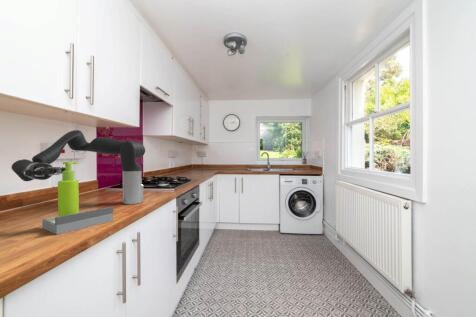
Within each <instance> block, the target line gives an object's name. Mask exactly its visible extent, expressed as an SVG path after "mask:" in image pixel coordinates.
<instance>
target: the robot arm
mask: <svg viewBox="0 0 476 317" xmlns="http://www.w3.org/2000/svg"><path fill="white" fill-rule="evenodd" d="M66 145H67V146H68V147H69V149H70V150H72V151H78V152H93V153H97V154H98V153H99V154H103V155H119V156H120V165H121V168H122V204H124V205H135V204H140V203H142V202H144V184H142V183H143V182H142V180H143V179H142V170H143V169H142V165H141V164H139V163H137V161H136V159H140V158H142V157H143V156H144V155H145V153H146V147H145V145H144V144H143V143H142V142H139V141H133V140H125V141H122V140H119V139H115V138H111V137H110V138H109V137H104V136H97V137H95V138H93V139H92V140H91V141H90V142H88V141H87V140H86V137H85V136H84V133H83V131H81V130H78V129H74V130H71V131H68V132H66V133H65V134H63V135H62V136H61V137H60V138H58V139H57V140H56V141H55V142H54V143H52V144H51V145H50V146H49V147H47V148H45V149H44V150H42V151H41V152H39V153H37V154H36V155H34V156H32V158H31V160H30V159H25V158H24V159H18V160H16V161H15V162H13V163H12V164H11V170H12V171H13V172H14V173H15V174H16V175H17V176H18V178H20V179H21V180H22V181H23V182H31V181H34V180H41V181H46V180H48V179H50V178H51V177H52V176H53V177H54V176H59V175H62V172H63V171H64V170H65V166H62V167H61V166H53V165H52V163H54V162H55V161H57V160H58V158H60V156H61V154H62V152H63V149H65V146H66Z"/></svg>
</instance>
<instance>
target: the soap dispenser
mask: <svg viewBox="0 0 476 317" xmlns="http://www.w3.org/2000/svg"><path fill="white" fill-rule="evenodd" d="M78 164H79V162H78V161H63V162H62V165H64V167H65V170H64V171H63V172H62V174H61V175H62V178H61V179H62V180H60V181H57V209H58V210H57V211H58V212H57V213H58V214H57V215H58V216H57V217H60V216H65V215H70V214H75V213H79V212H80V208H79V207H80V204H79V202H80V200H79V198H80V197H79V196H80V195H79V194H80V191H79V190H80V189H79V181H80V180H78V179H75V171H74V170H73V169H72V165H78Z"/></svg>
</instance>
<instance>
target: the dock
mask: <svg viewBox="0 0 476 317" xmlns="http://www.w3.org/2000/svg"><path fill="white" fill-rule="evenodd" d="M113 221H114V206H108V207H101V208H97V209H92V210H87V211H82V212H80V211H79V213H75V214H70V215H65V216H60V217H58V216H55V217H54V216H53V217H49V218H44V219H42V221H41V223H42V224H41V225H42V229H43V230H46V231H47V232H49V233H52V234H54V235H57V236H58V235H61V234H66V233H69V232H73V231H74V232H75V231H77V230H81V229H85V228H89V227H90V228H91V227H93V226H98V225H101V224H106V223H109V222H113Z"/></svg>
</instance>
